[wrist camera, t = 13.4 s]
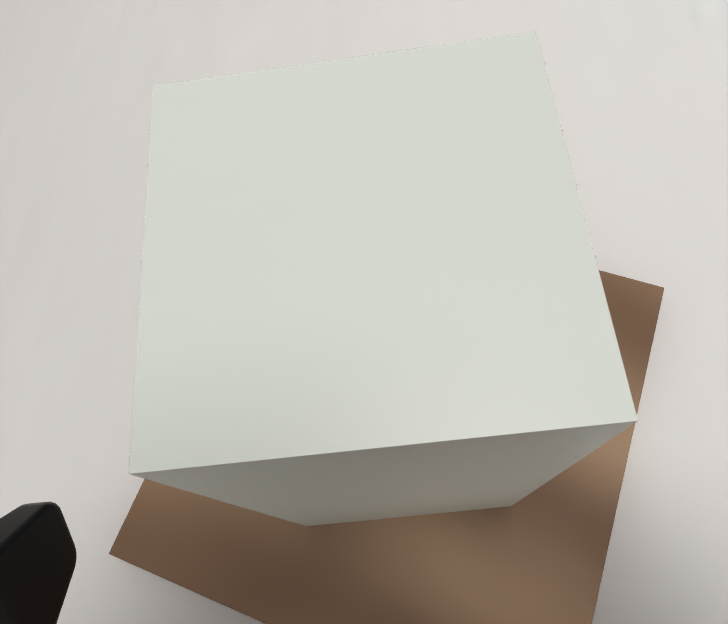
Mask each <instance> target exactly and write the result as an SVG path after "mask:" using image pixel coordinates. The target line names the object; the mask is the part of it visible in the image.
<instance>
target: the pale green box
mask: <svg viewBox="0 0 728 624" xmlns="http://www.w3.org/2000/svg"><path fill="white" fill-rule="evenodd" d="M637 421H638V419H637V415H636V411H635V407H634V403H633V400H632V396H631V392H630V388H629V384H628V381H627V377H626V373H625V369H624V365H623V361H622V358H621V354H620V350H619V346H618V342H617V339H616V335H615V331H614V327H613V323H612V319H611V316H610V312H609V308H608V304H607V300H606V297H605V293H604V289H603V285H602V281H601V277H600V274H599V270H598V266H597V262H596V258H595V255H594V251H593V247H592V243H591V239H590V235H589V232H588V228H587V224H586V220H585V216H584V213H583V209H582V205H581V201H580V197H579V193H578V190H577V186H576V182H575V178H574V174H573V171H572V167H571V163H570V159H569V155H568V152H567V148H566V144H565V140H564V136H563V132H562V129H561V125H560V121H559V117H558V113H557V110H556V106H555V102H554V98H553V94H552V90H551V87H550V83H549V79H548V75H547V71H546V68H545V64H544V60H543V56H542V52H541V48H540V45H539V41H538V37H537V33H536V31H535V32H528V33H521V34H514V35H507V36H500V37H492V38H485V39H478V40H471V41H464V42H457V43H450V44H443V45H436V46H429V47H422V48H415V49H407V50H400V51H393V52H386V53H379V54H372V55H365V56H358V57H351V58H344V59H337V60H330V61H323V62H315V63H308V64H301V65H294V66H287V67H280V68H273V69H266V70H259V71H252V72H245V73H238V74H230V75H223V76H216V77H209V78H202V79H195V80H188V81H181V82H174V83H167V84H160V85H153V89H152V105H151V121H150V137H149V153H148V170H147V186H146V202H145V218H144V234H143V250H142V266H141V282H140V298H139V315H138V331H137V347H136V363H135V379H134V395H133V411H132V427H131V443H130V460H129V474H131V475H134V476H138V477H141V478H144V479H148V480H151V481H155V482H158V483H161V484H165V485H168V486H172V487H175V488H178V489H182V490H185V491H189V492H192V493H195V494H199V495H202V496H206V497H209V498H212V499H216V500H219V501H223V502H226V503H229V504H233V505H236V506H240V507H243V508H246V509H250V510H253V511H257V512H260V513H263V514H267V515H270V516H274V517H277V518H280V519H284V520H287V521H291V522H294V523H297V524H301V525H304V526H314V525H324V524H335V523H345V522H355V521H365V520H376V519H386V518H396V517H406V516H417V515H427V514H437V513H448V512H458V511H468V510H478V509H489V508H499V507H509V506H512V505H514V504H515V503H517V502H518V501H520V500H521V499H523V498H524V497H526V496H527V495H529V494H530V493H532V492H533V491H535V490H536V489H537V488H539V487H540V486H542V485H543V484H545V483H546V482H548V481H549V480H551V479H552V478H554V477H555V476H557V475H558V474H560V473H561V472H563V471H564V470H566V469H567V468H569V467H570V466H572V465H573V464H575V463H576V462H578V461H579V460H581V459H582V458H584V457H585V456H587V455H588V454H589V453H591V452H592V451H594V450H595V449H597V448H598V447H600V446H601V445H603V444H604V443H606V442H607V441H609V440H610V439H612V438H613V437H615V436H616V435H618V434H619V433H621V432H622V431H624V430H625V429H627V428H628V427H630V426H631V425H633V424H634V423H636V422H637Z"/></svg>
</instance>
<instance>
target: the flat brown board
mask: <svg viewBox="0 0 728 624" xmlns="http://www.w3.org/2000/svg"><path fill="white" fill-rule="evenodd" d="M599 274H600V277H601V281H602V285H603V289H604V293H605V297H606V300H607V304H608V308H609V312H610V316H611V319H612V323H613V327H614V331H615V335H616V339H617V342H618V346H619V350H620V354H621V358H622V361H623V365H624V369H625V373H626V377H627V381H628V384H629V388H630V392H631V396H632V400H633V403H634V407H635V411H636V415H637V411H638V407H639V402H640V398H641V393H642V388H643V384H644V379H645V374H646V370H647V365H648V361H649V356H650V351H651V347H652V342H653V337H654V333H655V328H656V324H657V319H658V314H659V310H660V305H661V300H662V296H663V291H664V288H663V287H659V286H655V285H652V284H648V283H644V282H641V281H637V280H633V279H629V278H626V277H622V276H618V275H615V274H611V273H607V272H603V271H600V270H599ZM634 425H635V423H634V424H633V425H631V426H630V427H628V428H627V429H625V430H624V431H622V432H621V433H619V434H618V435H616V436H615V437H613V438H612V439H610V440H609V441H607V442H606V443H604V444H603V445H601V446H600V447H598V448H597V449H595V450H594V451H592V452H591V453H589V454H588V455H587V456H585V457H584V458H582V459H581V460H579V461H578V462H576V463H575V464H573V465H572V466H570V467H569V468H567V469H566V470H564V471H563V472H561V473H560V474H558V475H557V476H555V477H554V478H552V479H551V480H549V481H548V482H546V483H545V484H543V485H542V486H540V487H539V488H537V489H536V490H535V491H533V492H532V493H530V494H529V495H527V496H526V497H524V498H523V499H521V500H520V501H518V502H517V503H515V504H514V505H512V506H509V507H499V508H489V509H478V510H468V511H458V512H448V513H437V514H427V515H417V516H406V517H396V518H386V519H376V520H365V521H355V522H345V523H335V524H324V525H314V526H304V525H301V524H297V523H294V522H291V521H287V520H284V519H280V518H277V517H274V516H270V515H267V514H263V513H260V512H257V511H253V510H250V509H246V508H243V507H240V506H236V505H233V504H229V503H226V502H223V501H219V500H216V499H212V498H209V497H206V496H202V495H199V494H195V493H192V492H189V491H185V490H182V489H178V488H175V487H172V486H168V485H165V484H161V483H158V482H155V481H151V480H148V479H144V481H143V483H142V486H141V488H140V490H139V492H138V494H137V496H136V498H135V500H134V502H133V504H132V506H131V508H130V511H129V513H128V515H127V517H126V519H125V521H124V523H123V525H122V527H121V529H120V531H119V534H118V536H117V538H116V540H115V542H114V544H113V546H112V548H111V550H110V552H109V554H110V555H113V556H115V557H117V558H119V559H122V560H124V561H126V562H128V563H131V564H133V565H135V566H137V567H140V568H142V569H144V570H146V571H149V572H151V573H153V574H155V575H158V576H160V577H162V578H164V579H167V580H169V581H171V582H173V583H176V584H178V585H180V586H182V587H185V588H187V589H189V590H191V591H194V592H196V593H198V594H200V595H203V596H205V597H207V598H209V599H212V600H214V601H216V602H218V603H221V604H223V605H225V606H227V607H230V608H232V609H234V610H236V611H239V612H241V613H243V614H245V615H248V616H250V617H252V618H254V619H257V620H259V621H261V622H263V623H266V624H592V619H593V615H594V610H595V606H596V601H597V596H598V592H599V587H600V582H601V578H602V573H603V569H604V564H605V559H606V555H607V550H608V545H609V541H610V536H611V532H612V527H613V522H614V518H615V513H616V508H617V504H618V499H619V495H620V490H621V485H622V481H623V476H624V472H625V467H626V462H627V458H628V453H629V448H630V444H631V439H632V435H633V430H634Z"/></svg>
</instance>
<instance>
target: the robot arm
mask: <svg viewBox="0 0 728 624" xmlns="http://www.w3.org/2000/svg"><path fill="white" fill-rule="evenodd" d="M75 564H76V548H75V545H74V542H73V540H72V537H71V535H70V532H69V529H68V527H67V524H66V522H65V519H64V517H63V514H62V511H61V509H60V507H59V506H58V505H57V504H55V503H53V502H40V503H30V504H24V505H22V506H20V507H18V508H16V509H15V510H13V511H11V512H10V513H8V514H7V515H5V516H3V517H2V518H0V624H56V623H57V620H58V617H59V614H60V611H61V608H62V605H63V602H64V599H65V596H66V593H67V590H68V587H69V584H70V581H71V578H72V575H73V572H74V568H75Z"/></svg>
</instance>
